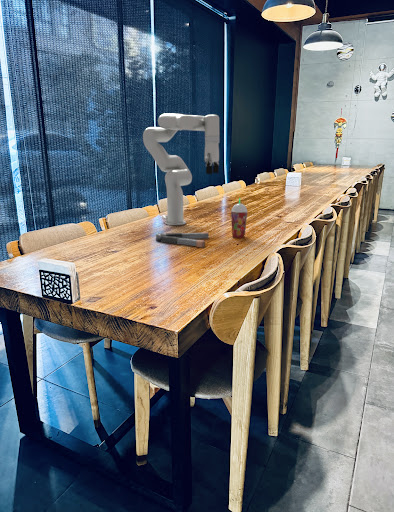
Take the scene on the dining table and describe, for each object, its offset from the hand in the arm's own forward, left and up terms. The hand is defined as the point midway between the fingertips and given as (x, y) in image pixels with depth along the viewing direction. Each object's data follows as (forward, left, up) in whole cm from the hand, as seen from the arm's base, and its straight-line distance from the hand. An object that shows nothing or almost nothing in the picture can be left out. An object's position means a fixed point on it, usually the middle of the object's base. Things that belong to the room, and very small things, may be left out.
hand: (212, 173), depth 202 cm
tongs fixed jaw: (+1, -36, -31) cm, 47 cm away
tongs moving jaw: (-4, -27, -31) cm, 41 cm away
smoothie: (+19, -9, -31) cm, 38 cm away
